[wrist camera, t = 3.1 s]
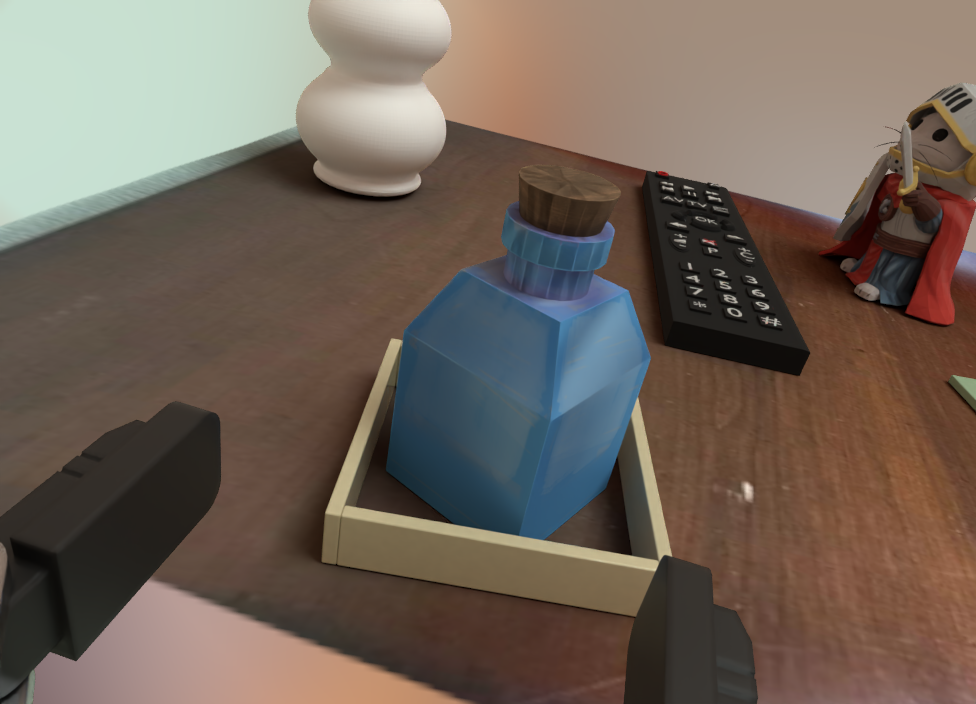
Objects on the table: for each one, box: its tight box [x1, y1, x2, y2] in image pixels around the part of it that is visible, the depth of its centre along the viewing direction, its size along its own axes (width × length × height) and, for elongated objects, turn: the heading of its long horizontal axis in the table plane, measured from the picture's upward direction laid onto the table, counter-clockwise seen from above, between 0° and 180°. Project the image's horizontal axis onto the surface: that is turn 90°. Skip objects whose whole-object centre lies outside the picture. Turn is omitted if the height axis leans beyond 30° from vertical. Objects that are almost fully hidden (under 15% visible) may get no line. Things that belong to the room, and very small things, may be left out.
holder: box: [321, 339, 672, 617], centre depth 27 cm, size 11×11×2 cm
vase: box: [296, 0, 451, 197], centre depth 48 cm, size 11×11×25 cm
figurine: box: [819, 83, 976, 326], centre depth 51 cm, size 13×11×15 cm
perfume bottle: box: [386, 165, 651, 540], centre depth 24 cm, size 6×6×12 cm
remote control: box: [642, 171, 810, 376], centre depth 53 cm, size 8×32×2 cm, turn 171°
